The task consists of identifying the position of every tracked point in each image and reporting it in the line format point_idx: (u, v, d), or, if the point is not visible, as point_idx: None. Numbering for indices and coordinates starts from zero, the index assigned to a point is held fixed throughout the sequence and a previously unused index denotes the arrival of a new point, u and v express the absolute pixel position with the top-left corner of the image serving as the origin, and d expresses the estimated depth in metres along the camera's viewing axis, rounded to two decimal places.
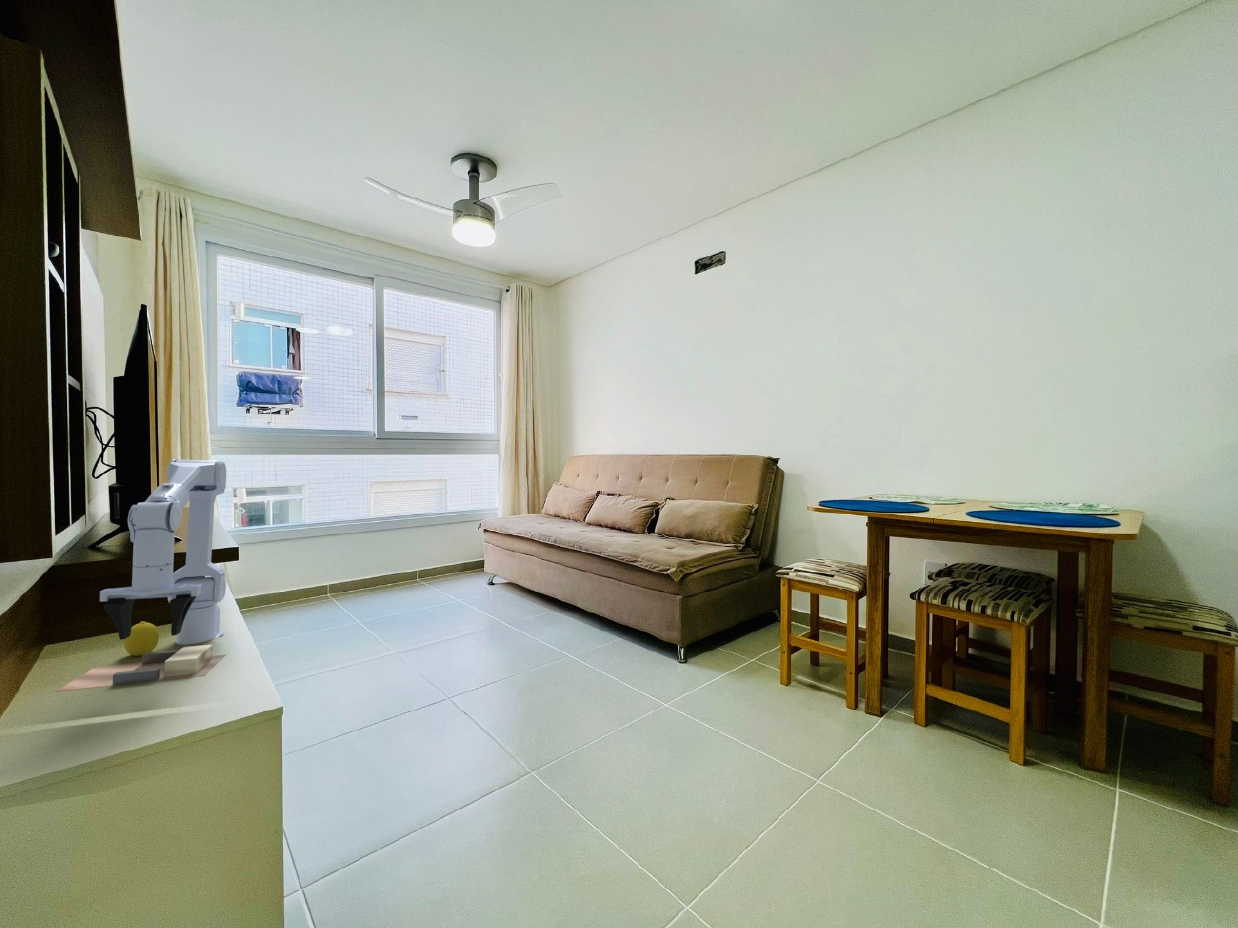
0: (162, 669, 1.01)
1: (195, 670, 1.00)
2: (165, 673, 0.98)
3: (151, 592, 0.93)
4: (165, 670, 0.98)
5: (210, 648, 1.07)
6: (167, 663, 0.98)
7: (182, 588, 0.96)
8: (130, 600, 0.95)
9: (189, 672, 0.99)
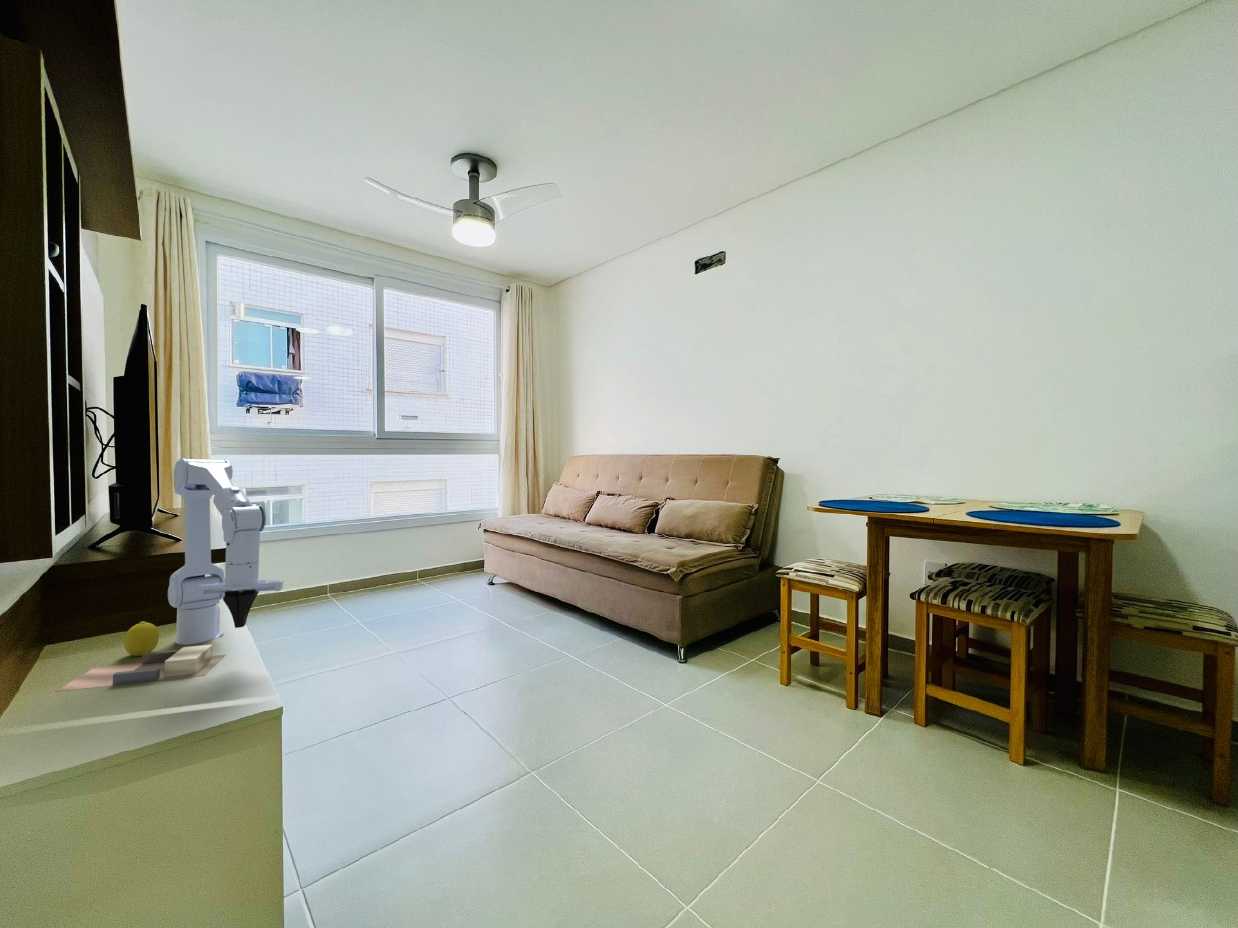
0: (162, 669, 1.01)
1: (195, 670, 1.00)
2: (165, 673, 0.98)
3: (243, 587, 1.04)
4: (165, 670, 0.98)
5: (210, 648, 1.07)
6: (167, 663, 0.98)
7: (268, 583, 1.07)
8: (241, 593, 1.07)
9: (189, 672, 0.99)
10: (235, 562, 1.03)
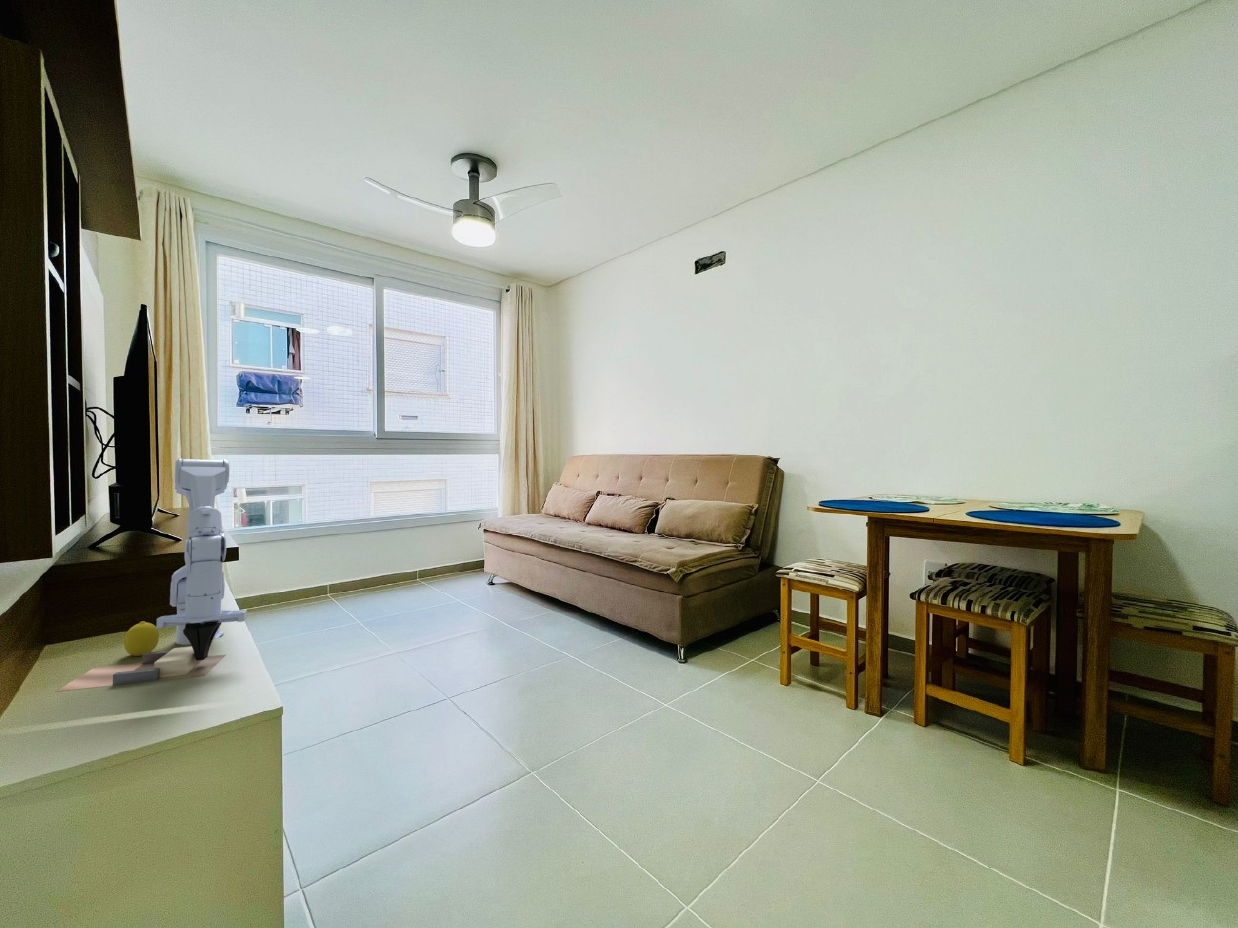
0: None
1: (185, 671, 0.99)
2: None
3: (203, 619, 1.01)
4: None
5: None
6: (157, 664, 0.97)
7: (230, 614, 1.04)
8: (203, 624, 1.05)
9: (179, 673, 0.99)
10: (192, 594, 1.01)
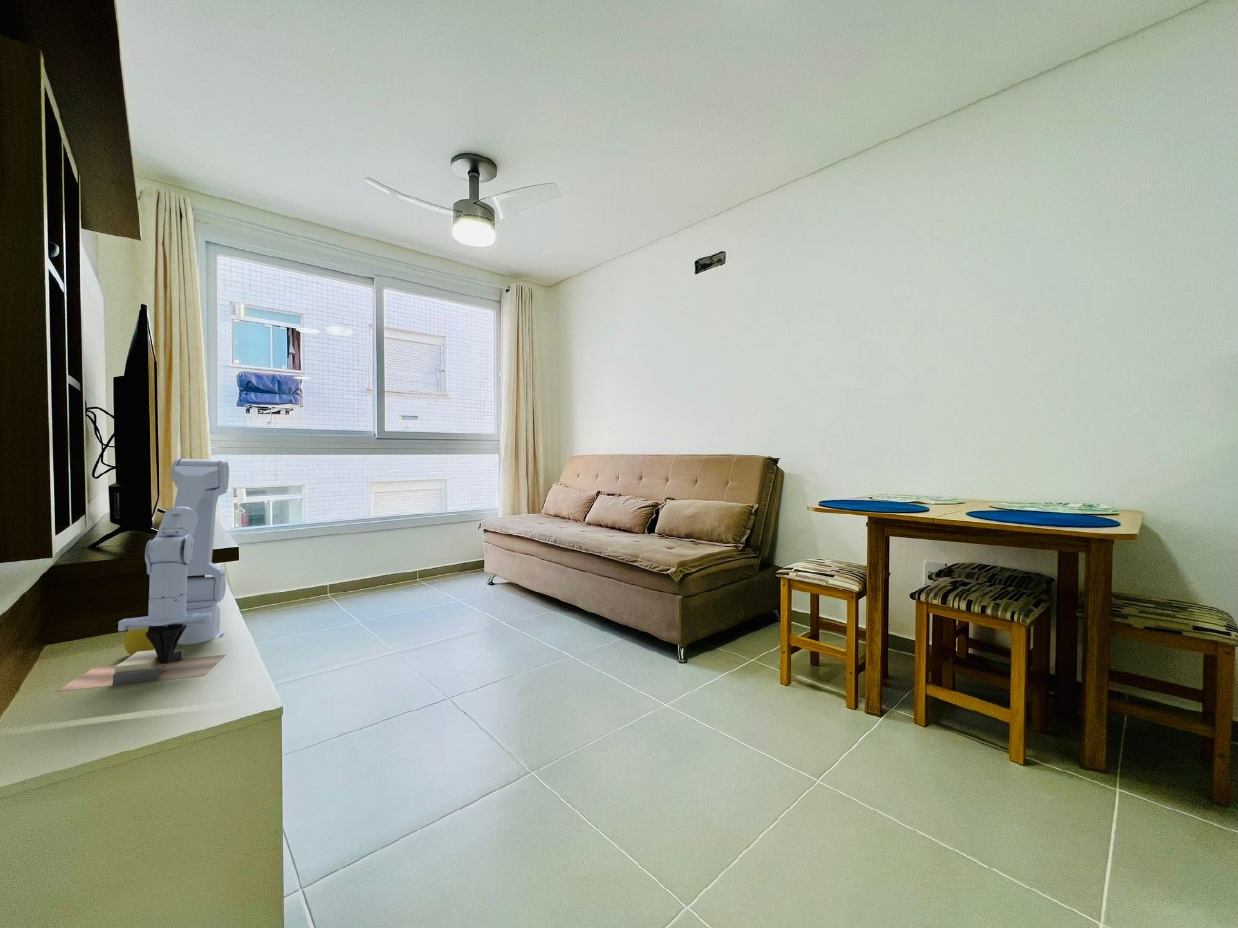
0: (162, 669, 1.01)
1: None
2: None
3: (166, 622, 0.99)
4: None
5: None
6: (117, 668, 0.95)
7: (195, 617, 1.02)
8: None
9: None
10: (151, 596, 0.99)
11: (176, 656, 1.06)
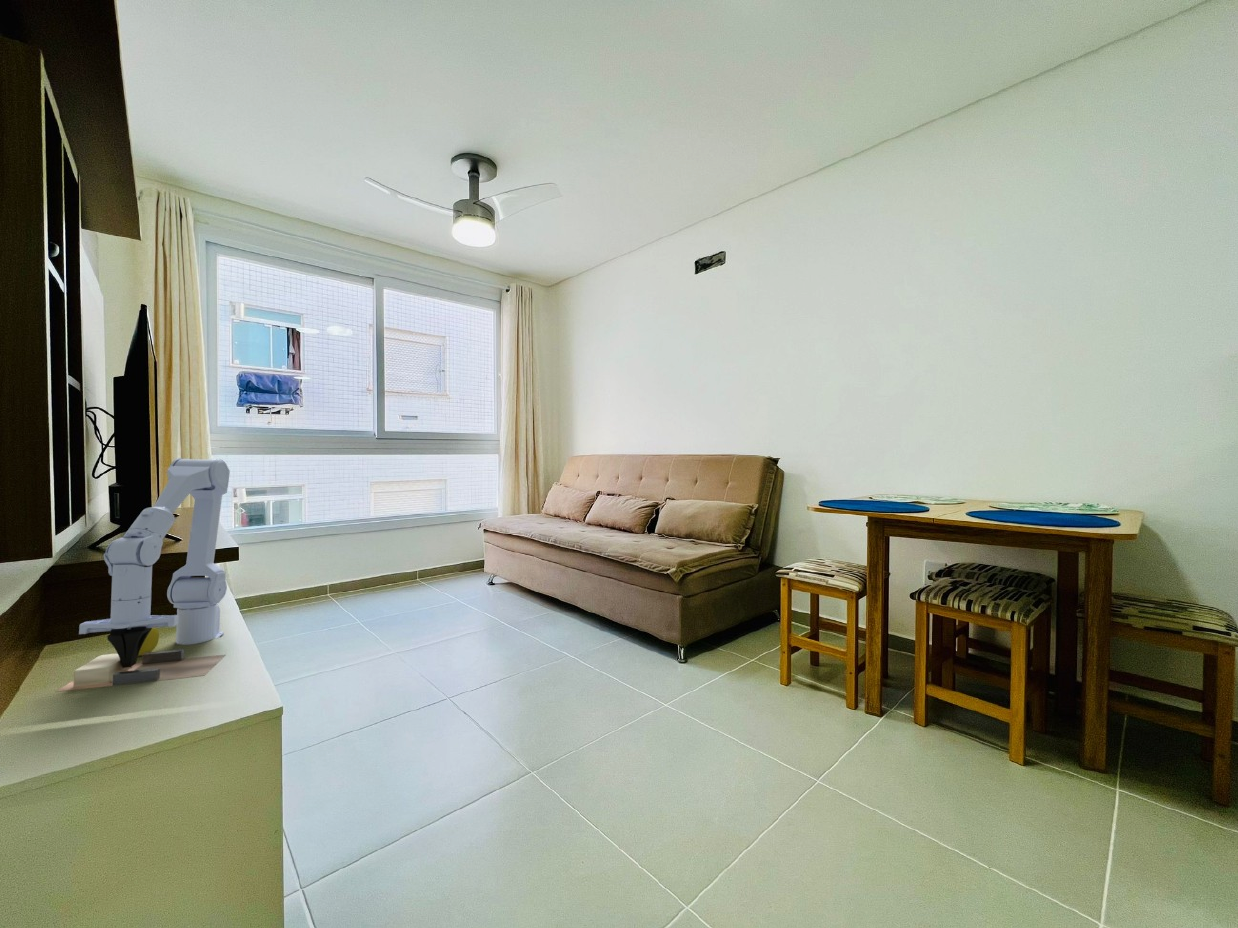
0: (162, 669, 1.01)
1: (108, 680, 0.95)
2: (74, 683, 0.93)
3: (129, 624, 0.97)
4: (74, 680, 0.93)
5: None
6: (77, 672, 0.93)
7: (159, 620, 1.00)
8: None
9: (101, 682, 0.94)
10: (111, 597, 0.97)
11: (176, 656, 1.06)
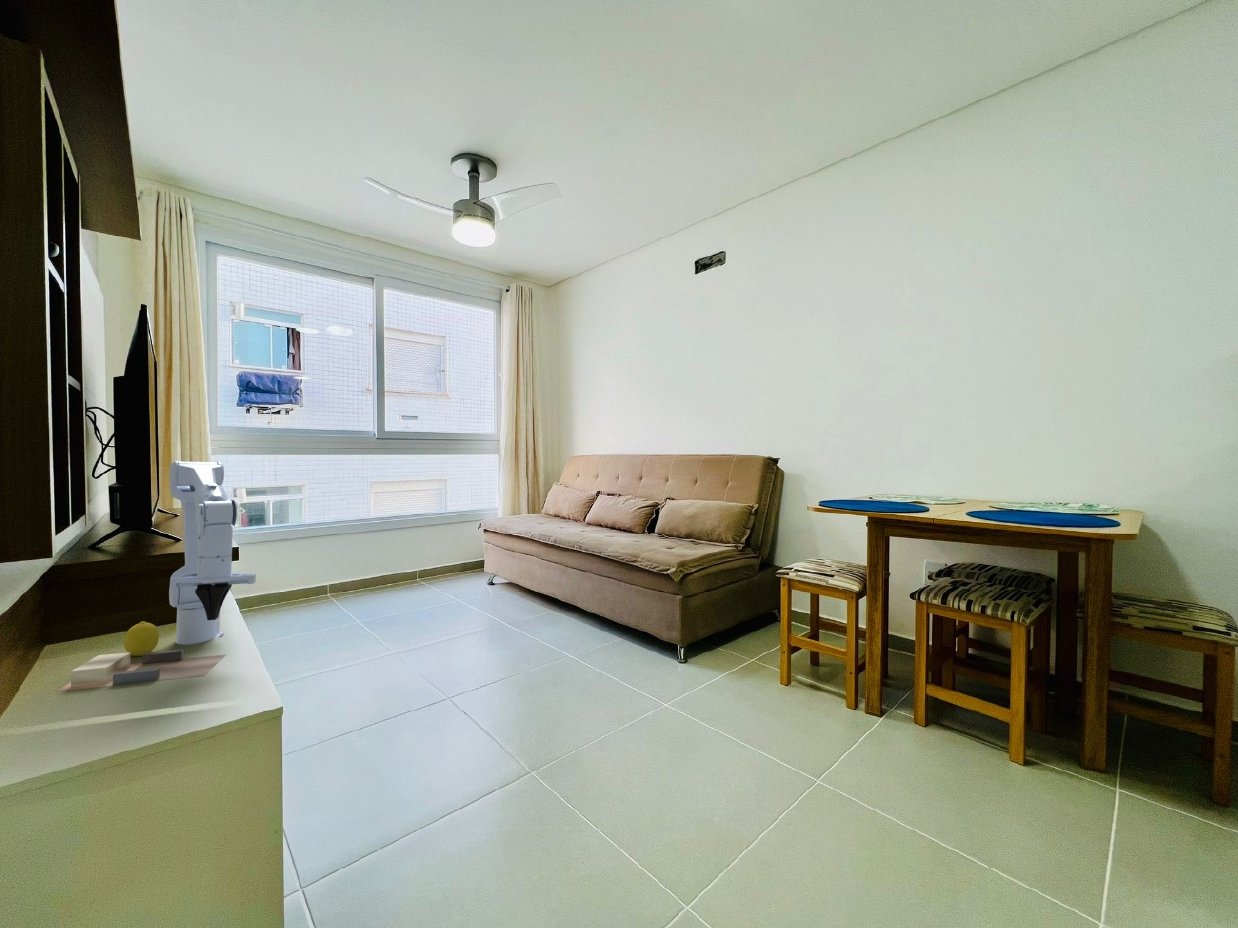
0: (162, 669, 1.01)
1: (105, 680, 0.94)
2: (72, 683, 0.93)
3: (215, 580, 1.05)
4: (72, 681, 0.93)
5: (127, 656, 1.01)
6: (74, 673, 0.93)
7: (240, 577, 1.08)
8: (214, 586, 1.09)
9: (99, 682, 0.94)
10: (205, 555, 1.05)
11: (176, 656, 1.06)
